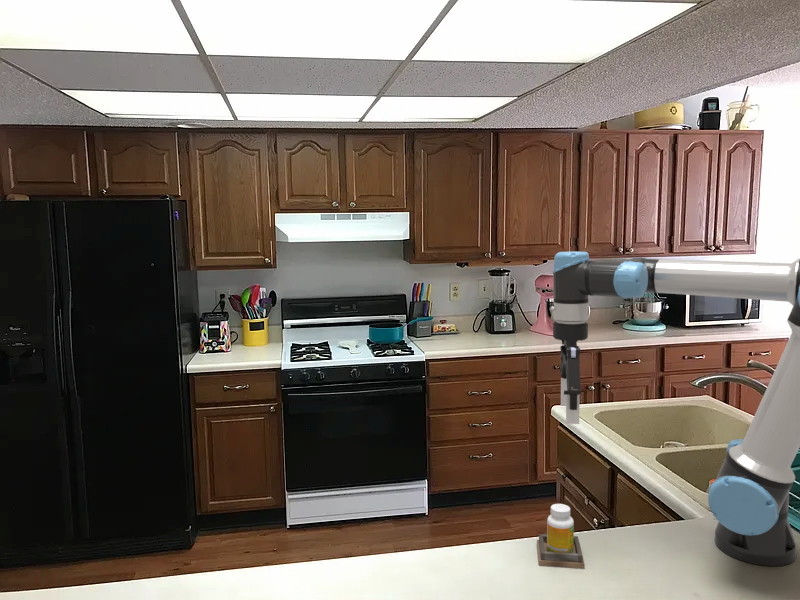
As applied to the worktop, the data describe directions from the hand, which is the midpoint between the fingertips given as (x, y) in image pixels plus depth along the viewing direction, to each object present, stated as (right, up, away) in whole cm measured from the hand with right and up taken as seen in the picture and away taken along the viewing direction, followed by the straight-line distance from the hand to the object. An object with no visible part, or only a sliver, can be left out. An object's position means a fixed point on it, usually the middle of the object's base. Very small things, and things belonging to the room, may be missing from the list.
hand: (569, 414), depth 143 cm
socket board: (-5, -28, -10) cm, 30 cm away
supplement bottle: (-5, -27, -10) cm, 29 cm away
